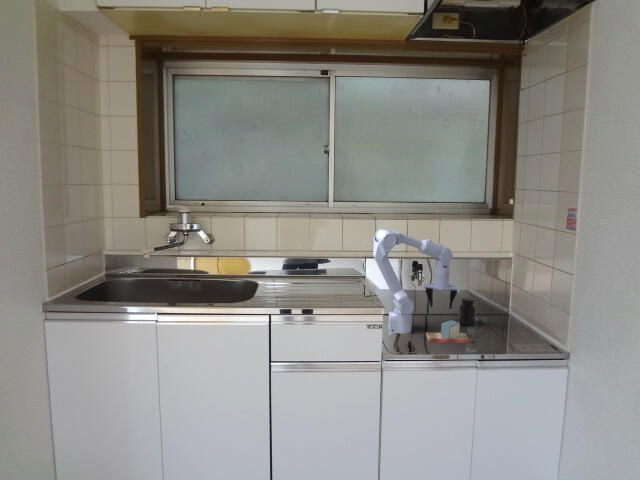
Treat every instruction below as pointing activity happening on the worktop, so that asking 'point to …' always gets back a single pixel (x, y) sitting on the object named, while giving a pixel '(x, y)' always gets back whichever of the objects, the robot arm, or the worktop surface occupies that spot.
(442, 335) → the tea box
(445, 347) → the worktop surface
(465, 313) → the supplement bottle
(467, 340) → the shelf board
